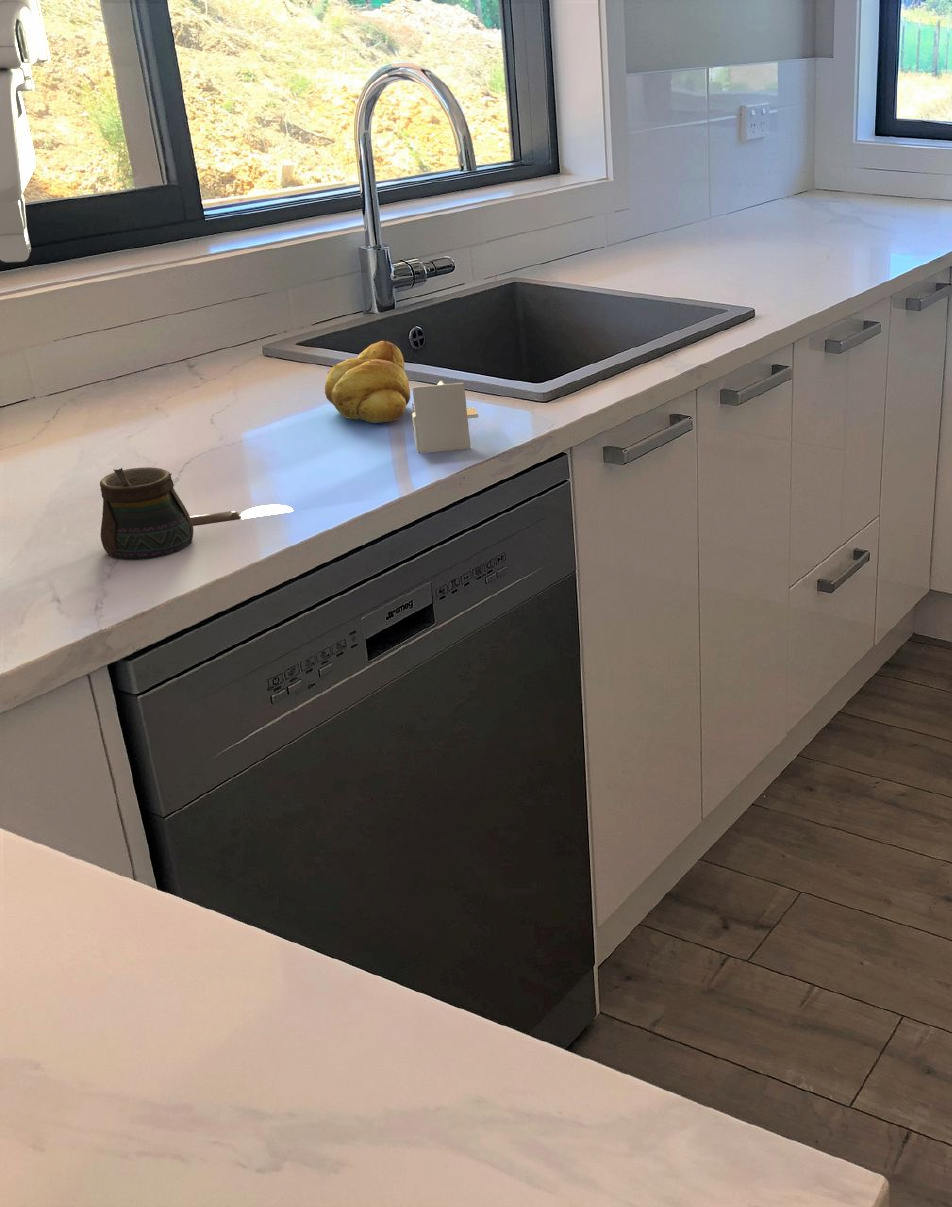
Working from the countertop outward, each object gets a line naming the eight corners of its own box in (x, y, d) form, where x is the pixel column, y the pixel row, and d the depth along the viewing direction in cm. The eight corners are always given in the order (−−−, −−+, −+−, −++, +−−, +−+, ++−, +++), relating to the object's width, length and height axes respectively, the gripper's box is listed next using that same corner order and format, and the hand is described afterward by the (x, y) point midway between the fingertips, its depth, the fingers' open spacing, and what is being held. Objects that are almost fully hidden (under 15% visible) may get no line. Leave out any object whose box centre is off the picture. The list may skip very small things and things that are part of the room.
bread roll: (421, 425, 155) (413, 358, 152) (335, 433, 151) (325, 365, 148) (405, 398, 166) (398, 335, 162) (325, 406, 162) (315, 341, 159)
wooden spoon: (131, 550, 118) (127, 533, 117) (130, 532, 122) (127, 516, 121) (297, 527, 124) (295, 511, 123) (292, 511, 127) (289, 496, 127)
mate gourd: (200, 543, 119) (179, 437, 115) (197, 573, 113) (175, 462, 109) (112, 554, 117) (88, 446, 113) (104, 585, 110) (78, 472, 106)
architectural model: (414, 445, 148) (406, 380, 145) (476, 438, 150) (470, 374, 147) (418, 453, 145) (410, 387, 142) (481, 447, 147) (475, 382, 144)
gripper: (-75, 29, 89) (-26, 238, 95) (-118, 35, 72) (-55, 288, 78) (31, 30, 92) (72, 234, 97) (13, 36, 75) (65, 281, 80)
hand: (16, 258), depth 87 cm, fingers closed
